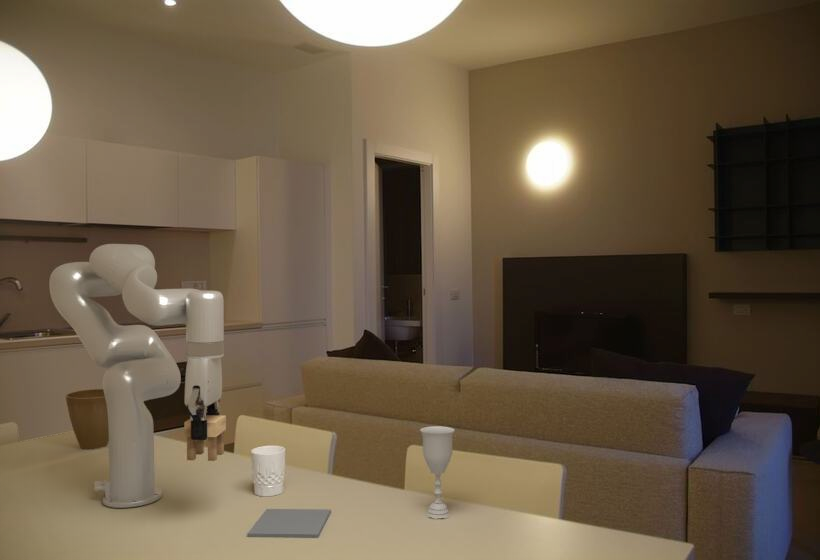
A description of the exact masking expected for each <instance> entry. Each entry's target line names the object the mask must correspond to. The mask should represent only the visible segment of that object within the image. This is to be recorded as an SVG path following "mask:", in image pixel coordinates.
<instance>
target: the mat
mask: <svg viewBox="0 0 820 560" xmlns="http://www.w3.org/2000/svg"><path fill="white" fill-rule="evenodd" d="M331 513H332V509H328V508H327V509H321V508H320V509H319V508H318V509H311V508H309V509H308V508H305V509H304V508H292V509H291V508H266V509H265V510H264V512H263V513H262V514H261V515H260V517H259V518H258V519H257V521H256V522H255V523H254V524H253V525H252V527H251V528H250V529H249V530H248V532H247V533H246V535H247V537H248V538H249V537H251V538H252V537H254V538H256V537H257V538H258V537H259V538H319V537H320V535H321V533H322V531H323V529H324V527H325V525H326V523H327V522H328V520H329V517H330V515H331Z"/></svg>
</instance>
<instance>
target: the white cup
mask: <svg viewBox="0 0 820 560" xmlns="http://www.w3.org/2000/svg"><path fill="white" fill-rule="evenodd" d="M250 453H251V454H250V456H251V470H252V471H251V472H252V482H253V489H254V491H253V492H254V495H256V496H258V497H275V496H278V495H281V494H282V493H283V492H284V490H285V489H284V486H285V485H284V483H285V473H286V448H285V447H284V446H281V445H263V446H259V447H258V446H257V447H255V448H252V449H251V450H250Z"/></svg>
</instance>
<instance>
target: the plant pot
mask: <svg viewBox="0 0 820 560" xmlns="http://www.w3.org/2000/svg"><path fill="white" fill-rule="evenodd" d="M65 400H66V407H67V412H68V415H69V419H70V423H71V427H72V429H73V432H74V435H75V437H76V440H77V442H78V445H79V447H80V448H81V449H83V450H96V449H95V448H97V449H102V448H104V447H107V446H108V445H109V428H108V411H107V404H106V399H105V395H104V390H103V388H93V389H92V388H91V389H80V390H76V391H72V392H71V391H70V392H68V393H66V394H65ZM101 447H102V448H101Z"/></svg>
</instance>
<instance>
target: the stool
mask: <svg viewBox="0 0 820 560" xmlns="http://www.w3.org/2000/svg"><path fill="white" fill-rule="evenodd" d="M205 420H207V461H208V462H215V461H217V459H218V456H222V455H224V453H225V449H224V448H225V434H224V433H225V431H227V416H226V415H223V414H221V415H220V414H219V415H206V418H205ZM183 423H184V425H183V426H184V427H183V428H184V436H183V437H184V438H185V437H186V461H196V459H197V455H199V456H200V455H203V454H204V453H205V451H204V450H205V449H204V448H205V447H204V444H205V442H204V441H205V440H192V439H191V420H190V418H188V419H187V420H185V421H184V422H183Z"/></svg>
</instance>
